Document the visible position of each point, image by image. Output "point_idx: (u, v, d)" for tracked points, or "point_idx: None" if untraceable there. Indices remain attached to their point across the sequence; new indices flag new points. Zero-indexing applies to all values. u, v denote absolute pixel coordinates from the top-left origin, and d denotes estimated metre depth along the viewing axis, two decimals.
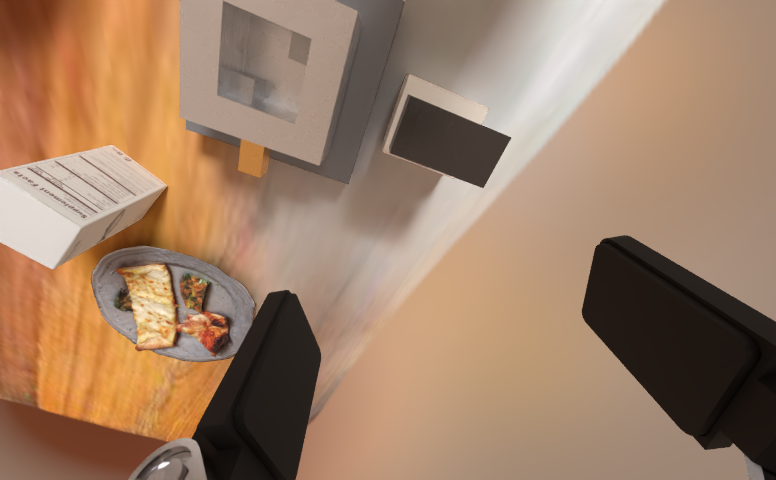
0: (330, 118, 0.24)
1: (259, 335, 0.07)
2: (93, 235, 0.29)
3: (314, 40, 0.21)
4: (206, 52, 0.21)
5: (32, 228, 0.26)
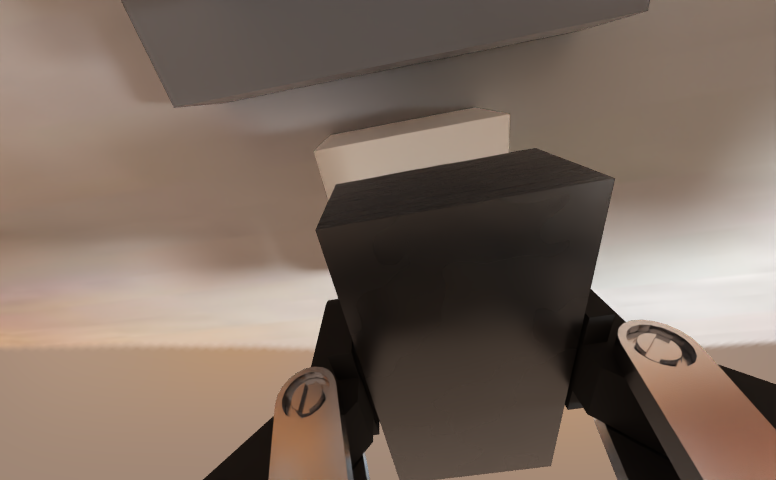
0: None
1: None
2: None
3: None
4: None
5: None
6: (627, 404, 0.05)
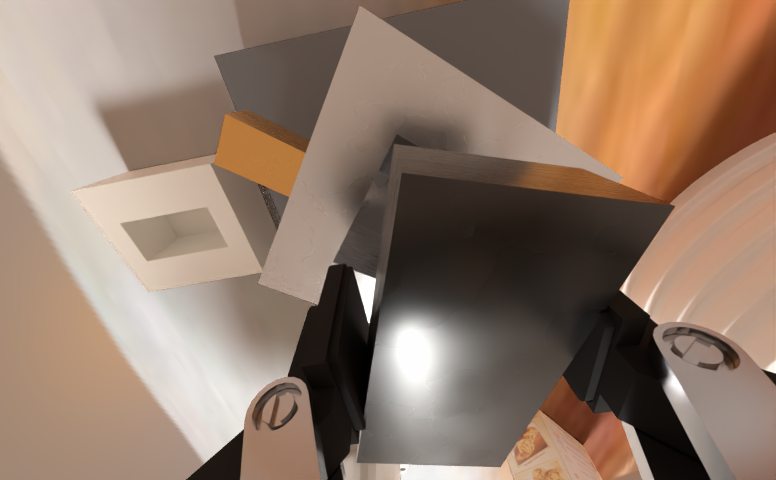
0: None
1: (332, 298, 0.08)
2: None
3: None
4: (470, 146, 0.11)
5: None
6: (659, 406, 0.05)
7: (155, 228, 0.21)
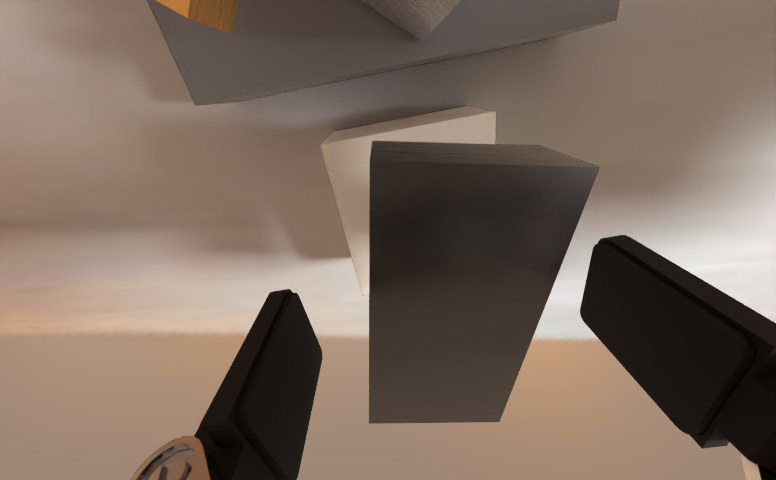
0: None
1: (261, 334, 0.07)
2: None
3: None
4: None
5: None
6: None
7: None
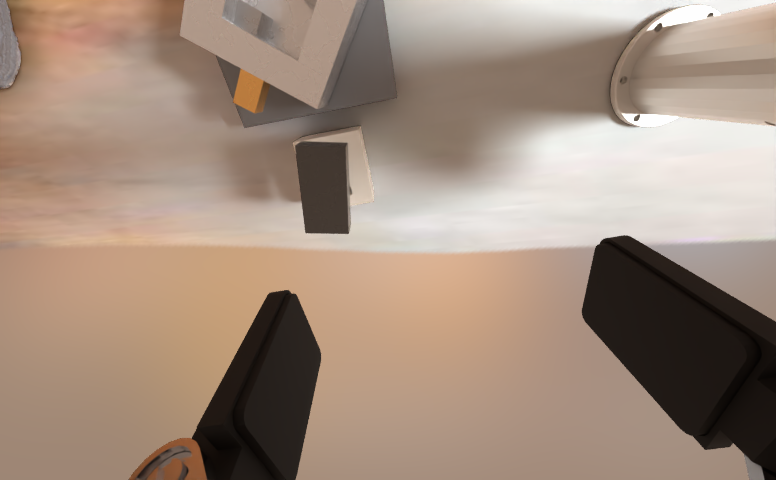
0: (333, 60, 0.24)
1: (259, 335, 0.07)
2: None
3: None
4: None
5: None
6: None
7: None
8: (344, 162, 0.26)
